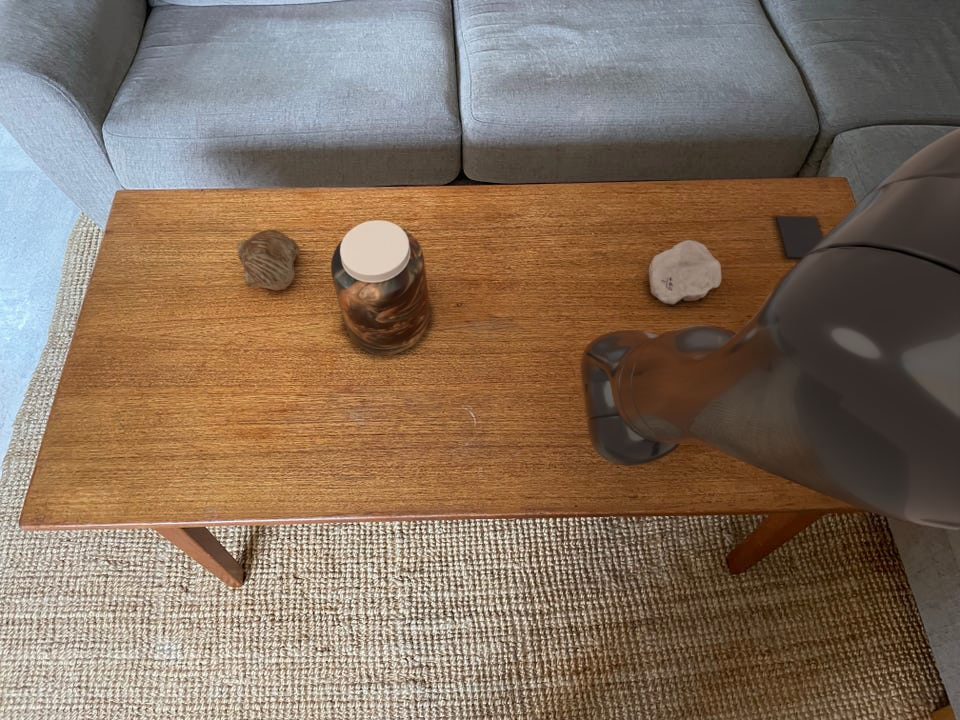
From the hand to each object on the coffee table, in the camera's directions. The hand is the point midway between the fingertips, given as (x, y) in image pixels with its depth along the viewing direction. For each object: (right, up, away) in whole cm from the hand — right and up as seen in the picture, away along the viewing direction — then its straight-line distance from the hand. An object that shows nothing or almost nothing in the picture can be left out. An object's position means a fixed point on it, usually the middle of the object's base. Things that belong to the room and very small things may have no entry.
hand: (734, 389), depth 79 cm
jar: (-44, +9, +10) cm, 46 cm away
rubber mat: (+18, +22, +19) cm, 34 cm away
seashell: (-61, +16, +14) cm, 64 cm away
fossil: (-2, +14, +14) cm, 21 cm away
